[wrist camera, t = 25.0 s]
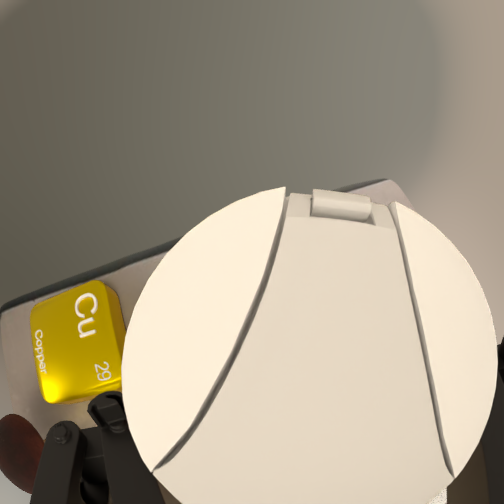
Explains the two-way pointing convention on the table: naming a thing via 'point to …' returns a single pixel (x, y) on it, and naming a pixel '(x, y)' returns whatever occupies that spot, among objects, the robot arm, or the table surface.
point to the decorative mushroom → (19, 451)
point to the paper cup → (309, 356)
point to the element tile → (78, 343)
